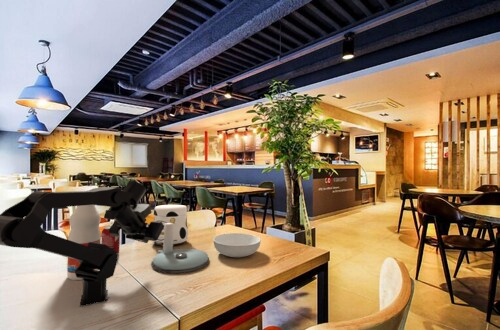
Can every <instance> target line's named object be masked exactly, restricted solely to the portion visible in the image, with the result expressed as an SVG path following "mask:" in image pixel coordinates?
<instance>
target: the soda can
mask: <svg viewBox="0 0 500 330" xmlns="http://www.w3.org/2000/svg"><path fill="white" fill-rule="evenodd" d="M111 226H112V225H111V224H110V225H105V226H103V229H102V231H101V244H105V245H107V246H108V247H114V248H115V249H114V250H115V251H116V252H117V253H118V254H117V255H119V254H120V247H121V246H120V243H121V242H120V237H121V229H120V230H119V232H118V233H119V236H118V237H117V236H111V235H110V234H109V229H110V227H111Z"/></svg>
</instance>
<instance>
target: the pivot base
mask: <svg viewBox="0 0 500 330" xmlns="http://www.w3.org/2000/svg"><path fill="white" fill-rule="evenodd" d="M162 250H164V243H163V246H162ZM175 257H176V258H185V257H187V254H186V253H178V254H176V255H175ZM209 264H210V258H209V256H208V260H207V262H206V263H204V264H203V265H201V266H198V267H195V268H191V269H185V270H165V269H161V268H158V267H156V266H154V264H153V260H152V261H151V264H150V265H151V269H153V270H154V271H156V272H158V273H162V274H168V275H170V274H171V275H179V274H181V275H182V274H188V273H193V272H197V271H200V270H202V269H204V268H205V267H207V266H208V265H209Z"/></svg>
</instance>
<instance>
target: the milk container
mask: <svg viewBox="0 0 500 330" xmlns="http://www.w3.org/2000/svg"><path fill="white" fill-rule="evenodd" d="M187 213H188V207H187V205H182V204H163V205H157V206H155V207H154V212H153V221H156V222H162V223H163V225H164V224H165V223H173V247H174V246H178V245H182V244H184V243H185V242H187V240H188V238H189V228H188V222H187V221H188V214H187ZM152 242H153V244H154V245H157V246H161V247H163V243H164V228H163V230H162V232H161V234H160V236H159V238H158V240H156V241H152Z"/></svg>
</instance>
